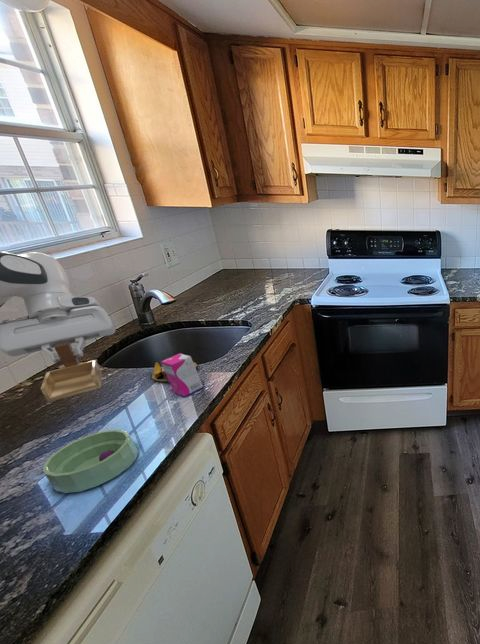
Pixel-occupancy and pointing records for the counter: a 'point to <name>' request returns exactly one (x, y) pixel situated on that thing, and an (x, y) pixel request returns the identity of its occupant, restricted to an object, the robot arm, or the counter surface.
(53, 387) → the scoop
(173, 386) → the supplement box
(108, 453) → the ball
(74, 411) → the counter surface
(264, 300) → the counter surface
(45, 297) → the robot arm
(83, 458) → the bowl
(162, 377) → the toy sandwich meal
